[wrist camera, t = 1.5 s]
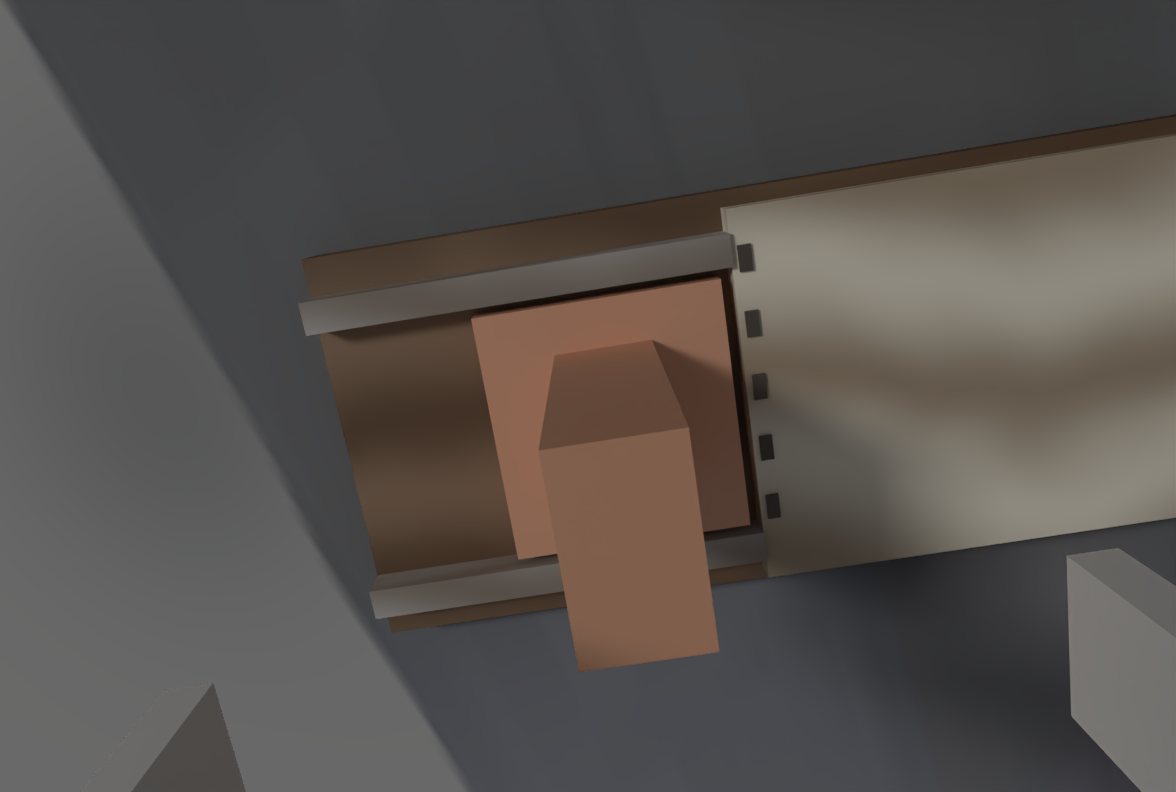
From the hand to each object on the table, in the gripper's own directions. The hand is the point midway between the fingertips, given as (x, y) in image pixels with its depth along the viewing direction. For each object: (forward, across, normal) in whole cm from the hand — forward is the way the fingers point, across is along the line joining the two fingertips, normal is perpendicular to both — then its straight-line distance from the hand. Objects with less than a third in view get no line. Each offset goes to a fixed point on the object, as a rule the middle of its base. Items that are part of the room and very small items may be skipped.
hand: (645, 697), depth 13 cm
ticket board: (+16, +5, 0) cm, 17 cm away
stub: (+15, 0, 0) cm, 15 cm away
